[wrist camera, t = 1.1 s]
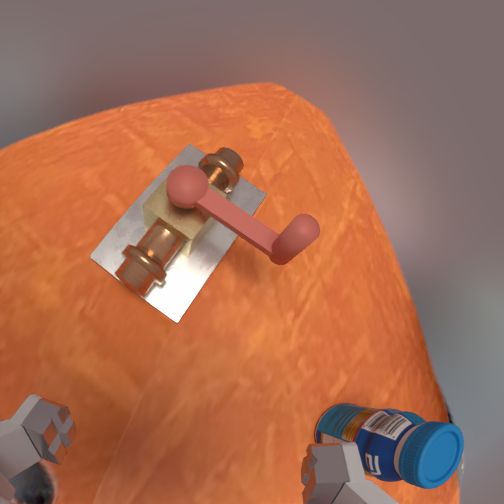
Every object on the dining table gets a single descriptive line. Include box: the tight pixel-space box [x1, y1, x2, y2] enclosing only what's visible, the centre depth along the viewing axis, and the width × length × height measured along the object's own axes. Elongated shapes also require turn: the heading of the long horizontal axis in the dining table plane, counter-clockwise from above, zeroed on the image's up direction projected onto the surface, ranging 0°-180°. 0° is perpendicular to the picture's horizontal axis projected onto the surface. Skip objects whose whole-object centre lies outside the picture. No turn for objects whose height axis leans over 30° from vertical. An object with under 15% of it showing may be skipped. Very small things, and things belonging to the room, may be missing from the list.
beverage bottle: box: [315, 403, 464, 489], centre depth 29 cm, size 8×8×20 cm
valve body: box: [90, 144, 267, 323], centre depth 38 cm, size 22×14×9 cm, turn 149°
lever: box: [166, 165, 320, 265], centre depth 30 cm, size 16×4×7 cm, turn 59°
